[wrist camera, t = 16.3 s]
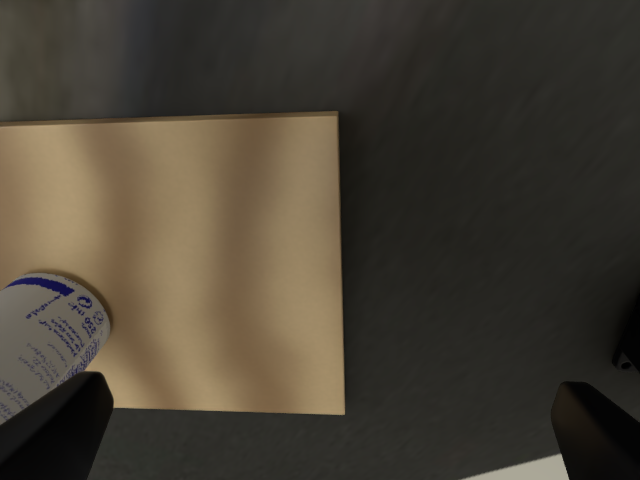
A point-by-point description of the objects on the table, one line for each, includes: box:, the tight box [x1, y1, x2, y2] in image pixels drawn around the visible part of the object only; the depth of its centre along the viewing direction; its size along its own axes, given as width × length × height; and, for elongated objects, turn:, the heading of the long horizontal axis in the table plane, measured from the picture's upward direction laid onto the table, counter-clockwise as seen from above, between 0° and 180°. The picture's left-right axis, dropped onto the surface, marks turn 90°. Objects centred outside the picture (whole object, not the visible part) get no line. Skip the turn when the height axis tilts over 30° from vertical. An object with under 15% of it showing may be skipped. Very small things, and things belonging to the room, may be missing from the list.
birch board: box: [0, 111, 345, 415], centre depth 22 cm, size 22×18×1 cm
